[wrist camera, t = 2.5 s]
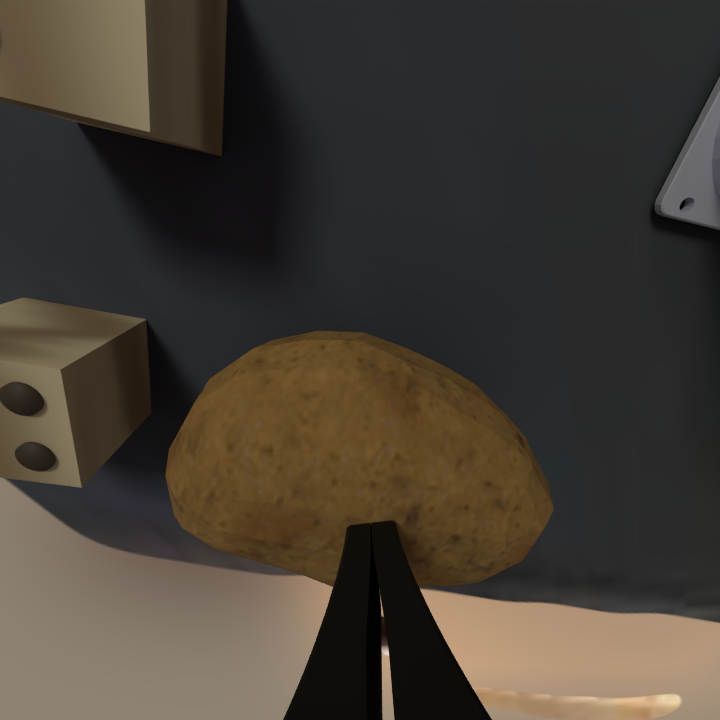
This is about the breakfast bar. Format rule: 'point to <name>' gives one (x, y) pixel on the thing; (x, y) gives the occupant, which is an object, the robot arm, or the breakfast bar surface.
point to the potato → (355, 461)
